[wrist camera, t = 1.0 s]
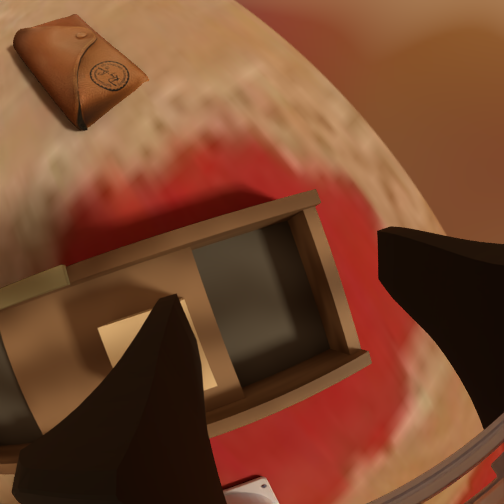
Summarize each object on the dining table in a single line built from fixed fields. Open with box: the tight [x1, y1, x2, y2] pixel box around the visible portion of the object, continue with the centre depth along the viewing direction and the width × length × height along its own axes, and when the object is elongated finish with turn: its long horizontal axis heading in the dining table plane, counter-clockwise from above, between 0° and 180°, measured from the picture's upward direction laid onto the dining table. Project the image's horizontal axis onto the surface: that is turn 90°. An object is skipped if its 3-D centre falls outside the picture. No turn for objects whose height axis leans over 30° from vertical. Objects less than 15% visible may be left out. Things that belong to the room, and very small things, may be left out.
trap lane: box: [0, 189, 372, 474], centre depth 17 cm, size 13×34×5 cm, turn 109°
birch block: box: [98, 298, 217, 390], centre depth 17 cm, size 5×5×4 cm
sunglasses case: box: [13, 14, 149, 130], centre depth 20 cm, size 18×7×7 cm, turn 46°
